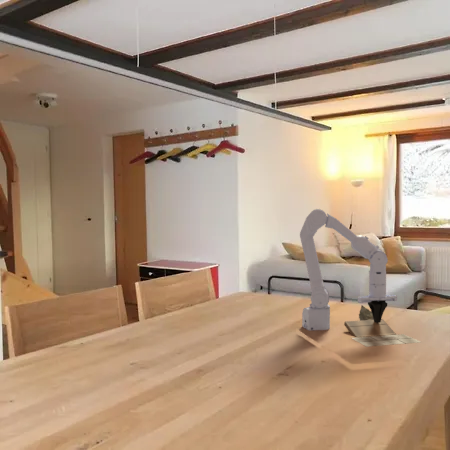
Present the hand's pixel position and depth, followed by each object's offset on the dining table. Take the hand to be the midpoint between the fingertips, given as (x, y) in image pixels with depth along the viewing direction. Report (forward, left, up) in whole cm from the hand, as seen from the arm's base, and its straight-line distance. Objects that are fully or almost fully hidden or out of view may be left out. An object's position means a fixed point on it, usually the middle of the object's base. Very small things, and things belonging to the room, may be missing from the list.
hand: (377, 322), depth 174 cm
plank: (-4, -2, -3) cm, 5 cm away
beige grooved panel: (-4, -12, -4) cm, 13 cm away
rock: (+4, +10, -5) cm, 12 cm away
